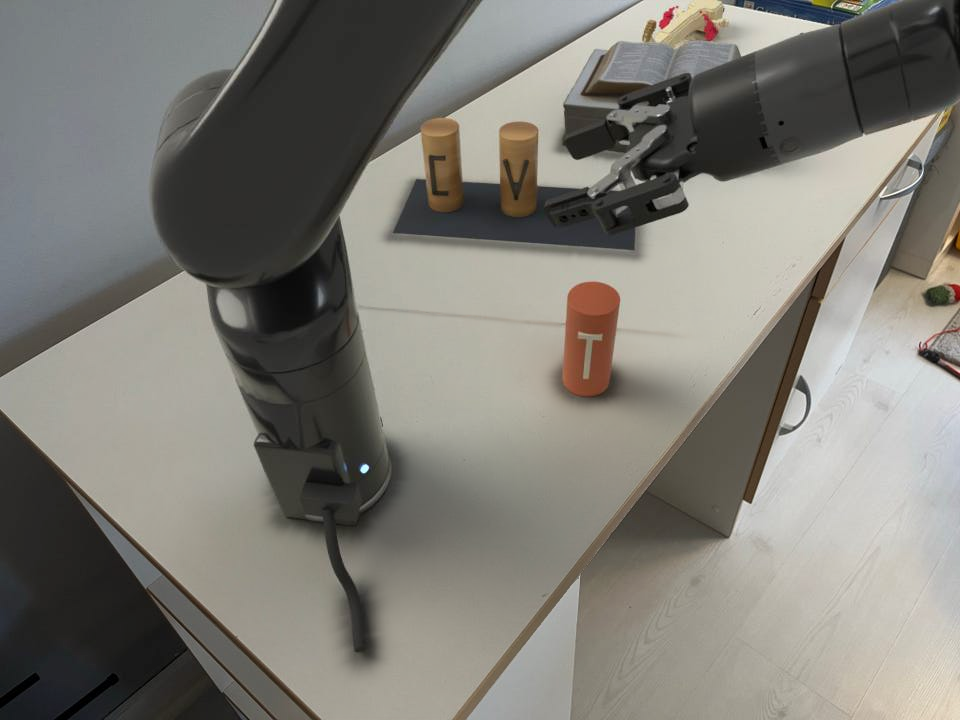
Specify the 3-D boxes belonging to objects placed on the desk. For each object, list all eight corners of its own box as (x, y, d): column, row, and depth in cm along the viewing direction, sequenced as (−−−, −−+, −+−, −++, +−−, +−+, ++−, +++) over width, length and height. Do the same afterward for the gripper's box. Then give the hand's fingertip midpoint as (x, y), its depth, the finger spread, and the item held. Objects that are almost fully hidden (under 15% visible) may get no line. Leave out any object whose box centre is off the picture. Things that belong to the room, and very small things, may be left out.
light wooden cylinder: (534, 219, 85) (535, 141, 78) (497, 216, 85) (495, 139, 78) (538, 198, 88) (540, 122, 81) (503, 196, 89) (502, 120, 82)
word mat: (633, 254, 80) (634, 249, 80) (393, 236, 84) (392, 232, 84) (636, 196, 89) (636, 191, 88) (416, 182, 93) (416, 178, 92)
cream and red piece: (668, 89, 111) (740, 24, 123) (675, 33, 105) (749, -30, 117) (613, 74, 116) (687, 13, 128) (616, 19, 109) (693, -40, 121)
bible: (732, 191, 89) (750, 115, 82) (537, 143, 99) (538, 73, 92) (778, 111, 102) (798, 41, 95) (603, 77, 113) (609, 11, 106)
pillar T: (608, 400, 65) (619, 318, 58) (560, 395, 66) (565, 314, 59) (610, 365, 68) (621, 283, 61) (564, 360, 69) (569, 279, 62)
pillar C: (460, 214, 86) (454, 137, 79) (424, 212, 87) (416, 135, 80) (467, 193, 89) (462, 118, 82) (432, 191, 90) (425, 116, 83)
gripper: (761, 3, 49) (554, 91, 58) (757, 120, 41) (516, 201, 50) (789, 95, 54) (593, 163, 62) (792, 218, 45) (564, 276, 54)
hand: (559, 180), depth 56 cm, fingers open, 8 cm apart
